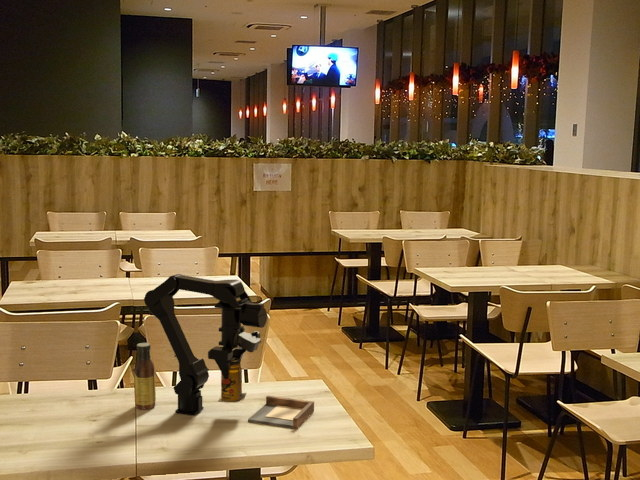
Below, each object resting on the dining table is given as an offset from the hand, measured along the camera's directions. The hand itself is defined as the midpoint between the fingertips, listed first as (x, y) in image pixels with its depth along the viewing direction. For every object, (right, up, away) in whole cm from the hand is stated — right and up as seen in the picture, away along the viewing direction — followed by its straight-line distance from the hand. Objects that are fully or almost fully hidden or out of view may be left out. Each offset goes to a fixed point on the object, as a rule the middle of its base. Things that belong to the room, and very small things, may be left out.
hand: (231, 375), depth 232 cm
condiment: (0, -7, +2) cm, 7 cm away
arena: (+14, -13, +4) cm, 19 cm away
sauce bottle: (-27, -11, +10) cm, 31 cm away
